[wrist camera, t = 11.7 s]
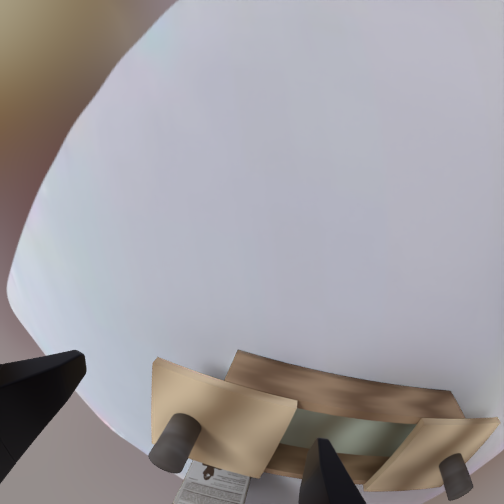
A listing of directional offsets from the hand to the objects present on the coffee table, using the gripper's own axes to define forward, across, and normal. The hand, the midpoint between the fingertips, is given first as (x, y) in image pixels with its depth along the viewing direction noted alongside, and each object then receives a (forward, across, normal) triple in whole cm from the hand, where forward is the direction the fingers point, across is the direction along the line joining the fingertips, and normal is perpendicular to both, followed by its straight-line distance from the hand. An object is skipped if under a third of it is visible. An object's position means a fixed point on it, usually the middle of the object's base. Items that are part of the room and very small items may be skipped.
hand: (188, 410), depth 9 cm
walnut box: (+12, -10, +10) cm, 19 cm away
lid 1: (+8, 0, +10) cm, 13 cm away
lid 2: (+8, -20, +10) cm, 24 cm away
